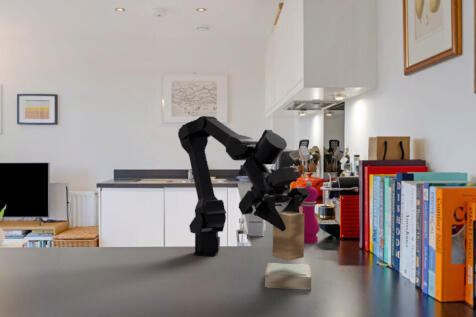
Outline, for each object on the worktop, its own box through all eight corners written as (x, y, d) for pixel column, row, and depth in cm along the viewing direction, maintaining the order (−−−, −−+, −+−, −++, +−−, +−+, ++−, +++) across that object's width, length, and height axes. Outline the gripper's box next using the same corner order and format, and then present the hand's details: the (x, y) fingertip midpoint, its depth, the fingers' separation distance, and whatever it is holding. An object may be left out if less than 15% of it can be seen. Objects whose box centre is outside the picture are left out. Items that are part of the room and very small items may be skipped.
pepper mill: (320, 240, 143) (321, 181, 142) (317, 244, 136) (318, 182, 135) (299, 238, 145) (300, 180, 145) (295, 242, 138) (296, 182, 138)
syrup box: (263, 236, 147) (264, 195, 147) (247, 235, 148) (247, 195, 148) (265, 233, 153) (266, 193, 153) (249, 232, 154) (250, 193, 154)
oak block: (288, 260, 93) (288, 215, 93) (272, 255, 97) (273, 212, 97) (303, 257, 96) (304, 213, 96) (288, 252, 100) (288, 211, 100)
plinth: (264, 287, 92) (265, 273, 92) (267, 274, 102) (267, 262, 102) (311, 289, 91) (311, 276, 91) (309, 276, 101) (309, 263, 101)
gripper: (247, 154, 93) (281, 210, 85) (304, 154, 105) (339, 203, 96) (225, 187, 100) (255, 241, 91) (282, 184, 111) (313, 232, 103)
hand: (292, 228), depth 95 cm, fingers closed on oak block, 5 cm apart
